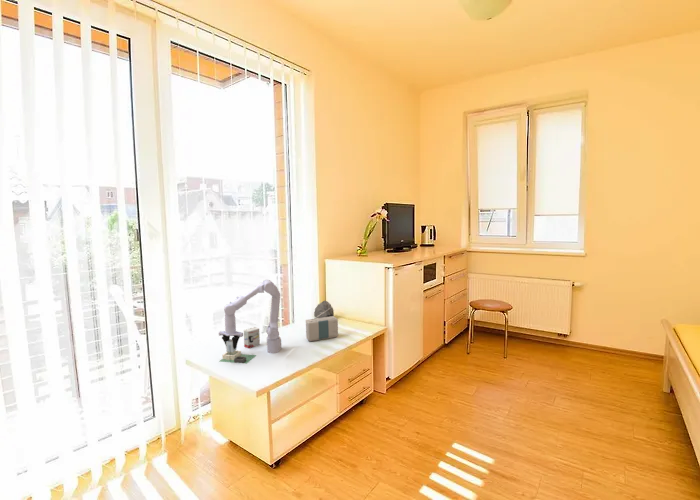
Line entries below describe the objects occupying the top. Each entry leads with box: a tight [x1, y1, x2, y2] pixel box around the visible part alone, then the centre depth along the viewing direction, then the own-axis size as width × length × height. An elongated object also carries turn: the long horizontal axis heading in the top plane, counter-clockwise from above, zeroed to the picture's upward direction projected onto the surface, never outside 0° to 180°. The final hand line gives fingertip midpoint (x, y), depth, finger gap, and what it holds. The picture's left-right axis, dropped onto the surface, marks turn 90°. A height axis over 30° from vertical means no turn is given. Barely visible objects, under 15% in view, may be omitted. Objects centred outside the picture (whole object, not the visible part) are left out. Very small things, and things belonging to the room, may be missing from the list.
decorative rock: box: [313, 300, 335, 318], centre depth 285 cm, size 16×7×15 cm, turn 62°
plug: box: [225, 338, 237, 352], centre depth 208 cm, size 4×4×6 cm
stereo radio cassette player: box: [305, 306, 339, 342], centre depth 241 cm, size 21×8×20 cm, turn 114°
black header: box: [233, 356, 246, 364], centre depth 203 cm, size 5×4×2 cm
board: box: [218, 353, 257, 364], centre depth 208 cm, size 12×17×1 cm
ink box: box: [243, 326, 261, 349], centre depth 227 cm, size 9×5×12 cm, turn 137°
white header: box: [221, 350, 242, 360], centre depth 209 cm, size 8×8×2 cm
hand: (231, 347), depth 209 cm, fingers closed on plug, 4 cm apart
